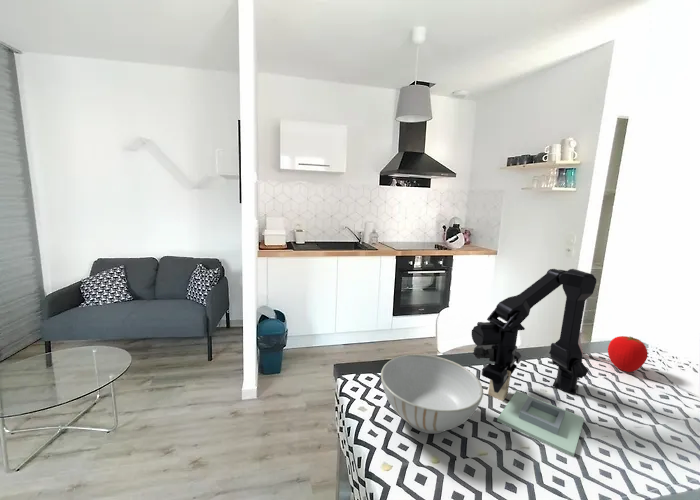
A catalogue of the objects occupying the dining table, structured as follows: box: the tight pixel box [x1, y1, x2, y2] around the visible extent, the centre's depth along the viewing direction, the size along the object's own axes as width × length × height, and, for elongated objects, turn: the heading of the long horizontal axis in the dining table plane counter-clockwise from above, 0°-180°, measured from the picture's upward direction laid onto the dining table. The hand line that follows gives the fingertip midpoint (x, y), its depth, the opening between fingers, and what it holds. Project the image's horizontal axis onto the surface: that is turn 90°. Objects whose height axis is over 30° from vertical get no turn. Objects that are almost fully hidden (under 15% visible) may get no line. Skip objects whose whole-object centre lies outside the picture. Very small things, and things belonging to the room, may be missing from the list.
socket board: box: [497, 390, 585, 458], centre depth 94 cm, size 18×18×3 cm
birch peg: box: [487, 370, 512, 402], centre depth 105 cm, size 4×4×8 cm
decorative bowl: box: [380, 353, 484, 434], centre depth 92 cm, size 27×27×12 cm
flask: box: [578, 330, 585, 359], centre depth 134 cm, size 7×7×10 cm
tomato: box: [607, 335, 648, 373], centre depth 124 cm, size 11×11×13 cm
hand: (498, 388), depth 105 cm, fingers closed on birch peg, 4 cm apart
